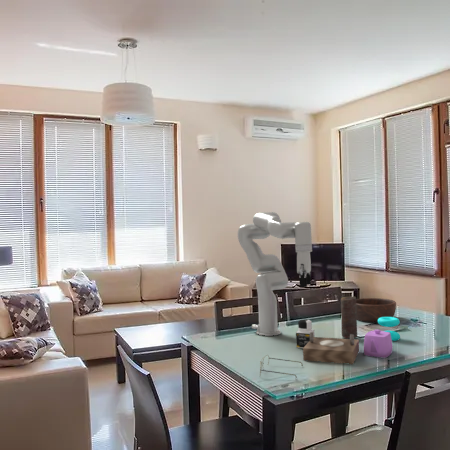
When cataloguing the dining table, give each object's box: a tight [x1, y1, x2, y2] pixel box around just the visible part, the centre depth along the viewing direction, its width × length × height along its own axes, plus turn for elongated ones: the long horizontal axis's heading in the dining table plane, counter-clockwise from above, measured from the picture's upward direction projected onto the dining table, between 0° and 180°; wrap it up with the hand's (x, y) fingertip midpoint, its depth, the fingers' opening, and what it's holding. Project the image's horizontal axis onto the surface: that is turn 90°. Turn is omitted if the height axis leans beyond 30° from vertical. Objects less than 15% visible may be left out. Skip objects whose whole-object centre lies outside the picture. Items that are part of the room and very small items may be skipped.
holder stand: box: [302, 332, 360, 365], centre depth 199 cm, size 20×20×9 cm
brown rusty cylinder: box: [340, 296, 358, 339], centre depth 227 cm, size 8×7×20 cm
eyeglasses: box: [259, 354, 304, 379], centre depth 180 cm, size 16×15×5 cm
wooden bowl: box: [356, 297, 397, 323], centre depth 270 cm, size 25×25×10 cm
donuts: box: [377, 316, 401, 342], centre depth 223 cm, size 10×10×10 cm
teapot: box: [363, 328, 393, 359], centre depth 199 cm, size 18×10×10 cm, turn 146°
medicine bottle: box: [295, 319, 316, 349], centre depth 215 cm, size 7×7×12 cm
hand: (305, 285), depth 217 cm, fingers open, 9 cm apart
